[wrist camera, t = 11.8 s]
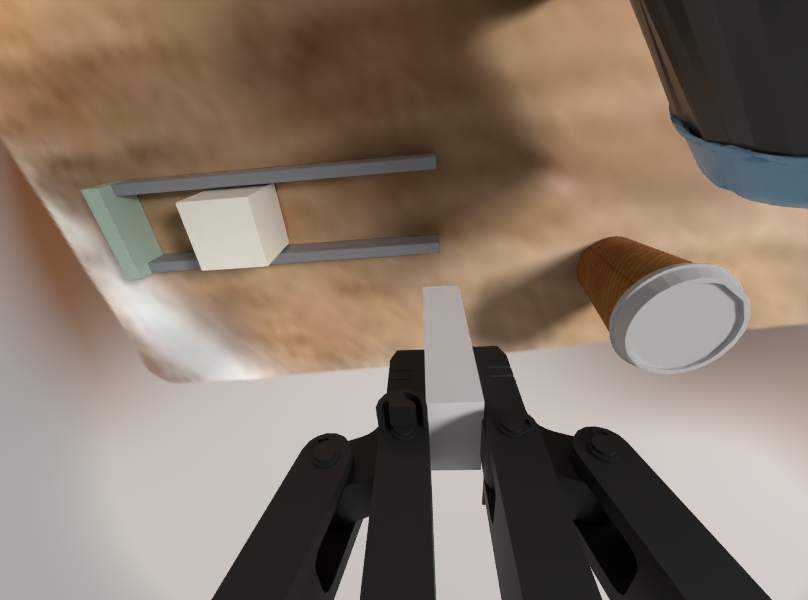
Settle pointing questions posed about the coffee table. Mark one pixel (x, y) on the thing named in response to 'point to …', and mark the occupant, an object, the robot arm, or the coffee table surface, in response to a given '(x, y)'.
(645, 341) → the disposable coffee cup
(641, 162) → the coffee table surface
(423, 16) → the coffee table surface
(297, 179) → the chute
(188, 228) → the block
